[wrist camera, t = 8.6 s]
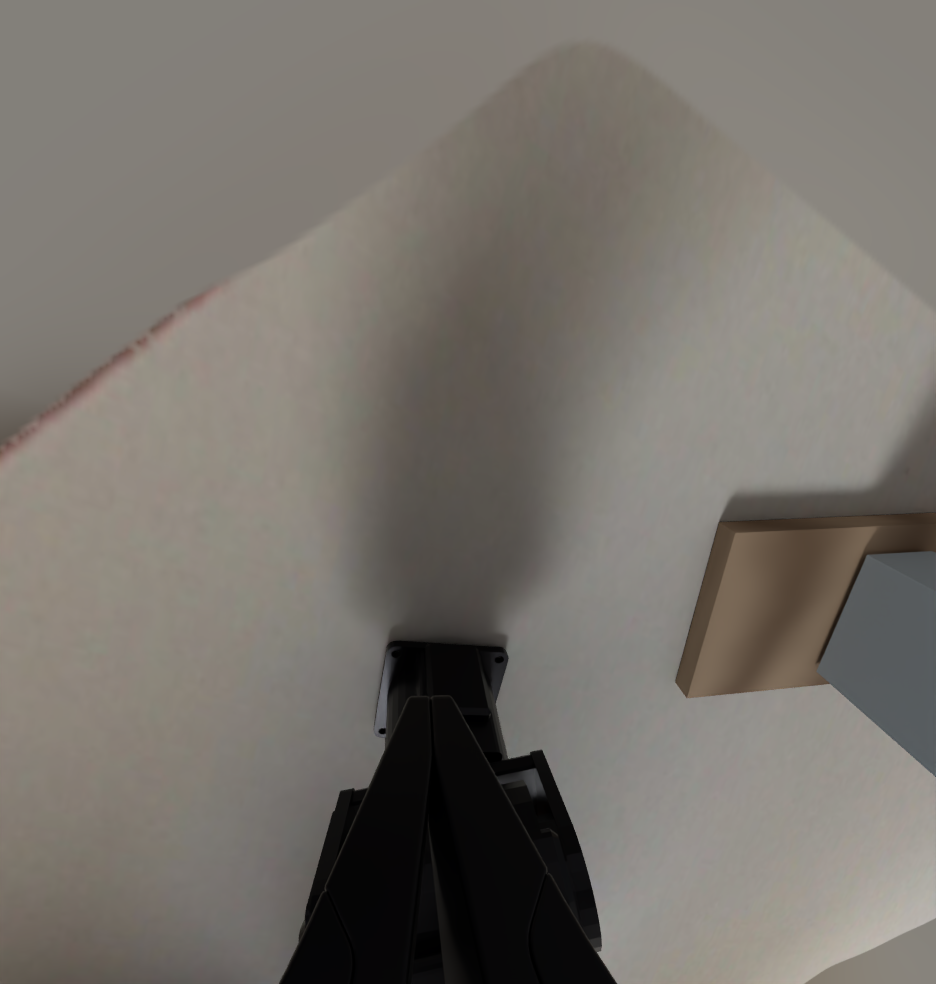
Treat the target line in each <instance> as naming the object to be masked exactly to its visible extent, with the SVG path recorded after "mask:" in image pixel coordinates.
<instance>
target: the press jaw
mask: <svg viewBox="0 0 936 984" xmlns="http://www.w3.org/2000/svg"><path fill="white" fill-rule="evenodd" d="M816 672H817V673H819V674H820V675H821V676H822V677H823V678H824V679H825V680H827V681H828V682H829V683H830V684H831V685H832V686H833V687H834V688H836V689H837V690H838V691H839V692H840V693H841V694H842V695H844V696H845V697H846V698H847V699H848V700H849V701H850V702H851V703H853V704H854V705H855V706H856V707H857V708H858V709H859V710H861V711H862V712H863V713H864V714H865V715H866V716H867V717H868V718H870V719H871V720H872V721H873V722H874V723H875V724H876V725H878V726H879V727H880V728H881V729H882V730H883V731H884V732H885V733H887V734H888V735H889V736H890V737H891V738H892V739H893V740H894V741H896V742H897V743H898V744H899V745H900V746H901V747H902V748H904V749H905V750H906V751H907V752H908V753H909V754H910V755H911V756H913V757H914V758H915V759H916V760H917V761H918V762H919V763H921V764H922V765H923V766H924V767H925V768H926V769H927V770H928V771H930V772H931V773H932V774H933V775H934V776H935V777H936V553H935V552H933V551H924V552H907V553H889V554H872V555H867V556H866V558H865V561H864V563H863V565H862V568H861V570H860V572H859V575H858V577H857V579H856V581H855V584H854V586H853V588H852V591H851V593H850V595H849V598H848V600H847V602H846V604H845V607H844V609H843V611H842V614H841V616H840V618H839V621H838V623H837V625H836V627H835V630H834V632H833V634H832V637H831V639H830V641H829V644H828V646H827V648H826V650H825V653H824V655H823V657H822V660H821V662H820V664H819V667H818V669H817V671H816Z"/></svg>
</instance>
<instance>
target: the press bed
mask: <svg viewBox="0 0 936 984" xmlns="http://www.w3.org/2000/svg"><path fill="white" fill-rule="evenodd" d="M924 551H933V552H935V553H936V513H917V514H894V515H871V516H848V517H826V518H803V519H780V520H757V521H734V522H719V525H718V529H717V532H716V536H715V540H714V543H713V547H712V551H711V554H710V558H709V561H708V565H707V569H706V572H705V576H704V580H703V583H702V587H701V591H700V594H699V598H698V602H697V605H696V609H695V612H694V616H693V620H692V623H691V627H690V631H689V634H688V638H687V642H686V645H685V649H684V653H683V656H682V660H681V663H680V667H679V671H678V674H677V678H676V682H675V683H676V684H677V685H678V687H679V688H680V689H681V691H682V692H683V694H684V695H685V696H686V698H694V697H704V696H714V695H724V694H734V693H744V692H754V691H764V690H774V689H784V688H793V687H803V686H813V685H823V684H830V683H829V682H828V681H827V680H825V679H824V678H823V677H822V676H821V675H820V674H819V673H817V672H816V671H817V669H818V667H819V664H820V662H821V660H822V657H823V655H824V653H825V650H826V648H827V646H828V644H829V641H830V639H831V637H832V634H833V632H834V630H835V627H836V625H837V623H838V621H839V618H840V616H841V614H842V611H843V609H844V607H845V604H846V602H847V600H848V598H849V595H850V593H851V591H852V588H853V586H854V584H855V581H856V579H857V577H858V575H859V572H860V570H861V568H862V565H863V563H864V561H865V558H866V556H867V555H872V554H889V553H907V552H924Z"/></svg>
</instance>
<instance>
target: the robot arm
mask: <svg viewBox="0 0 936 984" xmlns="http://www.w3.org/2000/svg"><path fill="white" fill-rule="evenodd" d="M394 650H399V652H393V651H394ZM498 656H501V657H500V658H496V657H498ZM507 663H508V655H507V652H506V650H505V649H504V648H501V647H489V646H473V645H457V644H441V643H425V642H409V641H393V642H391V643H390V644H389V645H388V646H387V650H386V656H385V662H384V668H383V674H382V680H381V686H380V692H379V699H378V705H377V711H376V717H375V723H374V734H375V735H376V736H378V737H382V738H385V751H384V754H383V756H382V758H381V760H380V763H379V765H378V767H377V769H376V772H375V774H374V776H373V778H372V781H371V783H370V785H369V787H368V788H365V789H360V790H355V789H354V788H353V789H348V790H343V791H340V794H339V798H338V801H337V805H336V808H335V811H333V813H332V817H331V820H330V824H329V828H328V831H327V835H326V838H325V842H324V846H323V849H322V853H321V856H320V860H319V863H318V867H317V871H316V874H315V878H314V881H313V885H312V889H311V892H310V896H309V899H308V903H307V907H306V912H305V920H304V922H303V924H302V927H301V929H300V933H299V943H298V945H297V948H296V950H295V952H294V954H293V956H292V958H291V960H290V962H289V965H288V967H287V969H286V971H285V973H284V974H283V976H282V978H281V980H280V982H279V984H617V983H616V981H615V980H614V978H613V977H612V975H611V974H610V972H609V970H608V969H607V967H606V966H605V964H604V963H603V961H602V960H601V958H600V957H599V955H598V954H597V952H599V951H601V948H602V941H601V931H600V924H599V919H598V914H597V908H596V904H595V899H594V895H593V890H592V886H591V882H590V879H589V875H588V871H587V867H586V864H585V860H584V857H583V854H582V850H581V847H580V844H579V841H578V838H577V835H576V832H575V830H574V827H573V824H572V822H571V820H570V817H569V815H568V812H567V810H566V807H565V805H564V802H563V800H562V797H561V795H560V792H559V790H558V788H557V785H556V783H555V780H554V778H553V775H552V773H551V770H550V768H549V765H548V763H547V760H546V758H545V755H544V753H543V751H542V750H538V751H533V752H530V755H525V756H521V757H516V758H511V759H508V756H507V752H506V748H505V743H504V739H503V735H502V730H501V726H500V722H499V717H498V713H497V709H496V700H497V697H498V693H499V690H500V686H501V683H502V680H503V676H504V673H505V669H506V666H507Z"/></svg>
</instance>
